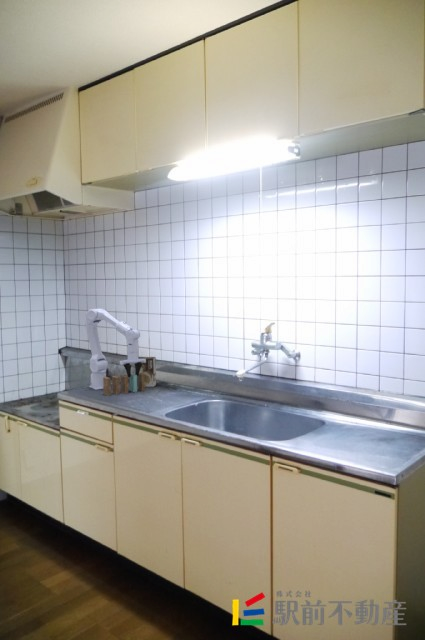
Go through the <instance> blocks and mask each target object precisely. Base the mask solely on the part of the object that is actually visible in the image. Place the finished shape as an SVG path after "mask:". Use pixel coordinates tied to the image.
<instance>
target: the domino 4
mask: <svg viewBox="0 0 425 640" xmlns="http://www.w3.org/2000/svg"><path fill="white" fill-rule="evenodd" d="M129 391H130V392H132V393H138V377H137V375H135V373H131V377H130V378H129Z"/></svg>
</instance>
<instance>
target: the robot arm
mask: <svg viewBox="0 0 425 640" xmlns="http://www.w3.org/2000/svg"><path fill="white" fill-rule="evenodd" d="M85 318H86V320H85V329H86V335H87V339H88V343H89V347H90V352H91V358H89V369H90V371H91V374H90V385H89V388H91V389H93V390H103V377H107V369H108V368H109V362H108V360H107V359H106V358H107V357H106V356H105V355H104V354H103V352H102V348H101V342H100V337H99V333H98V332H99V331H98V328H97V326H98V324H99V323H101V321H105V322H107V323H109V324H110V325H112V326H113V327H115V330H116V331H117V332H118V333H120V334H121V335H123V336H124V337H125V340H126V343H127V350H126V351H127V359H124V360H119V365H120V366H123V367H124V370H125V372H126V376H128V379H130V377H131V374H132V372H131V370H132V365H133V364H134V371H135V373H134V374H135V375H137V378H138V376H139V372H140V369H141V367H142V365H143V364H142V363H143V362H144V363H146V359H138V358H139V339H140V337H141V333H140V332H141V331H140V330H138V329H137V328H133V326H130V325H128V324H127V322H125V321H119V320H118V319H116V318H115V317H114V316H112V314H110V313H109V312H108V311H107V309H106V310H105V309H104V308H102V307H99V308H89V309H88V310H87V311H86V313H85Z"/></svg>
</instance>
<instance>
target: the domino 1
mask: <svg viewBox="0 0 425 640" xmlns="http://www.w3.org/2000/svg"><path fill="white" fill-rule="evenodd" d="M111 387H112V377H108V376H106V377H103V389H102V390H103V391H102V392H103V395H105V396H111V395H112V391H111V390H112V388H111Z"/></svg>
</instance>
